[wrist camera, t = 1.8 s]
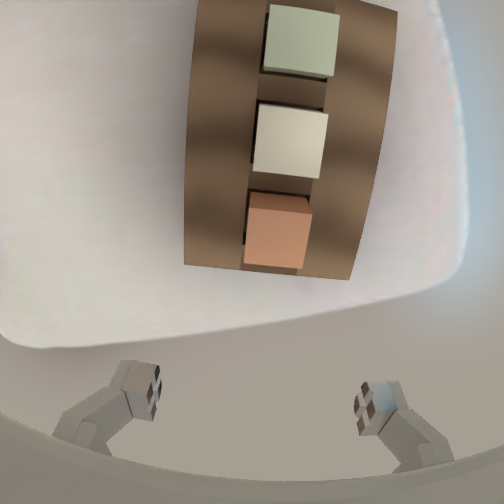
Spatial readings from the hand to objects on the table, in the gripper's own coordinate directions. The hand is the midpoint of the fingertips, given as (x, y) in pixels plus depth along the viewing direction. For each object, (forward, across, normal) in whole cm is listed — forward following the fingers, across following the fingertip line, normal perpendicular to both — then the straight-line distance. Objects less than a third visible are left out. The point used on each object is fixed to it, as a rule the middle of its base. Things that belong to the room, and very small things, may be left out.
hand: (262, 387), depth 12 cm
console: (+19, -1, -8) cm, 21 cm away
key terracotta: (+16, -1, -1) cm, 17 cm away
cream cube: (+16, -1, -8) cm, 18 cm away
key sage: (+16, -1, -15) cm, 22 cm away
